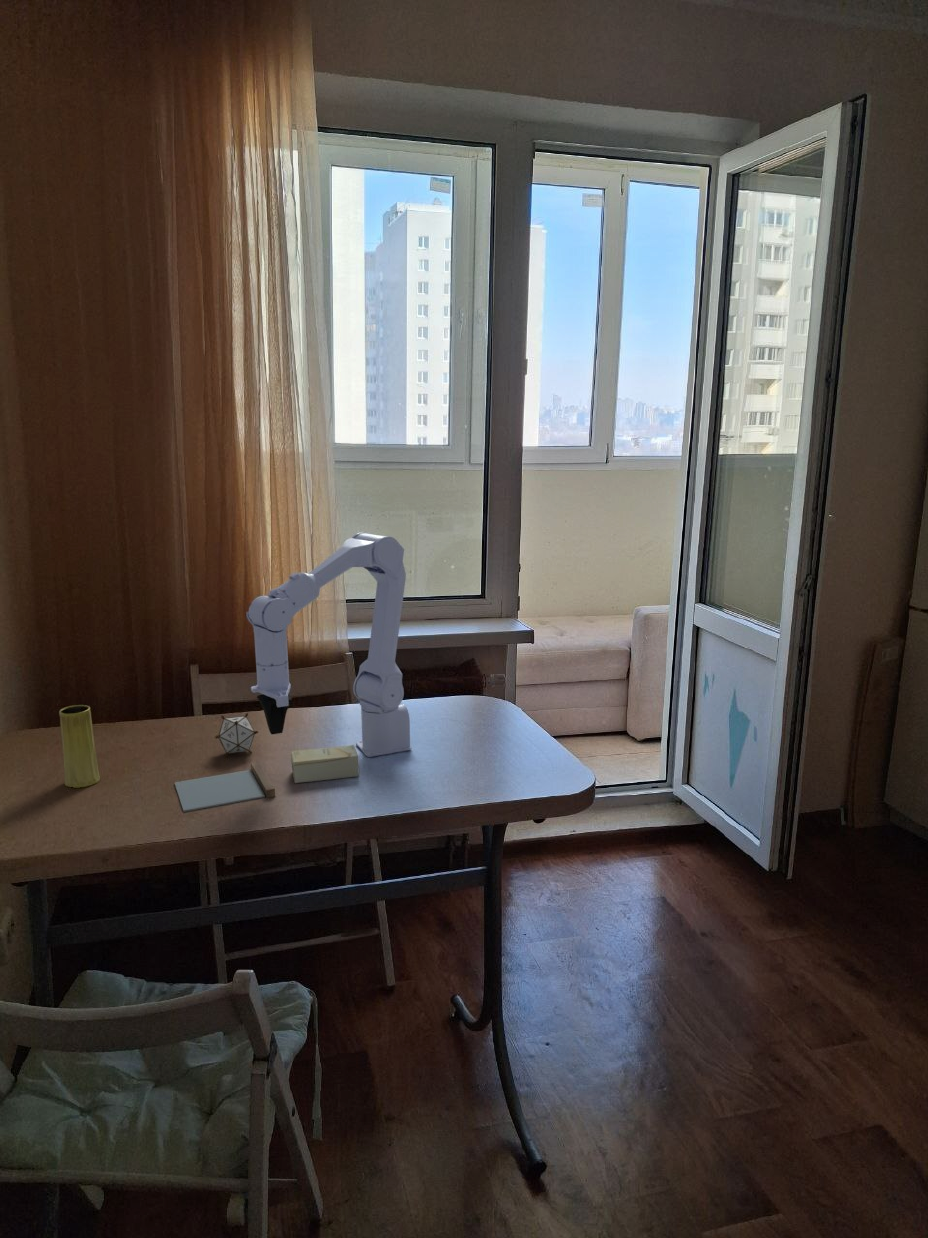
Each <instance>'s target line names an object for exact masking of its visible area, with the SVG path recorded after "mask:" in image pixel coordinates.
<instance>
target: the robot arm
mask: <svg viewBox="0 0 928 1238" xmlns="http://www.w3.org/2000/svg"><path fill="white" fill-rule="evenodd" d="M404 553H405V549H404V547H403V545H401V544H400V542H399V541H398V540H397V539H396V538H395V537H393V536H391V535H390V536H389V535H388V536H387V535H378V534H371V533H367V532H365V531H364V532H362V531H361V532H358V533H355V534H353V536H352V537H350V538H347V539H346V540H344V542H343V544H342V546H341V547H340V548H338V549H337V550H336V551H334V552H333V553H332V554H331V555H329V556H328V557H327V558H326V559H325V560H323V561H322V562H321V563H319V565H317V566H316V567H315V568H313V569H312V570H311V571H309V572H303V571H301V572H300V571H299V572H297V573H296V572H293V573H291V574H290V575H289V576H288V577H289V579H288V580H286V581H285V582H284V583H282V584H280V585H279V586H278V587H277V588H274V587H273V588H272V589H270V590H269V591H268V592H269V594H268V595H260V596H257V597H256V598H254V599H253V600H252V602H251V604H250V605H249V606H248V607H249V608H248V611H246V613H245V614H246V618H247V621H248V622H249V623H250V624H251V625H252V629H253V634H254V636H253V637H254V650H255V651H254V652H255V665H256V666H255V667H256V668H255V669H256V682H257V683H256V685H253V686H250V691H251V692H252V694H253V693H254V694H255V693H259V695H257V696H256V698H257V701H258V702H259V703H260V705H261V707H262V710H263V713H264V717H265V719H266V724H267V728H268V731H269V734H271V735H278V734H283V731H284V727H285V720H286V717H287V712H288V709H289V707H290V706H291V704H292V699H293V698H292V697H291V696H290V691H291V683H290V674H289V673H290V671H289V656H288V655H289V653H288V651H289V650H288V637H287V636H288V635H287V629H288V628H289V626H290V625H291V623H292V621H293V618H294V616H295V615H296V614H297V613H299V612H300V611H301V610H302V609H304V608H306V607H307V606H308V605H310V604H311V603H312V602H314V601H315V600H317V599H318V598H319V596H320V593H321V592H320V591H321V590H320V589H321V588H322V587H324V586H325V585H327V584H329V583H330V582H332V581H333V580H335V579H336V578H338V577H340V575H343V574H344V573H345V572H347V571H350V569H352V568H364V569H365V570H367V571H368V572H369V574H370V575H371V576H372V577H373V578H374V580H375V581H376V590H375V591H376V592H375V598H374V599H375V600H374V608H373V613H372V615H373V616H372V623H371V629H370V639H369V645H368V646H369V647H368V653H367V654H368V655H367V659H365V660H364V661H363V662H362V663H361V664H360V665H359V668H358V669H359V670H358V673H357V676H356V677H355V680H354V682H353V689H352V690H353V694H354V696H355V697H356V698H357V699H358V701H359V705H360V708H361V711H360V712H361V713H360V714H361V718H360V719H361V741H356V742H355V745H356V746H357V747H358V748H359V750H360V751H362V753H364V755H365V756H366V757H368V758H371V757H377V756H381V755H382V756H383V755H388V754H395V753H402V752H405V751H411V750H412V746H411V729H410V727H411V726H410V725H411V723H410V722H411V721H410V713H409V710H408V708H407V706H406V705H405V704H404V703H402V701H403V699H404V695H405V691H404V690H405V689H404V686H403V673H402V671H401V670H400V668H399V666H398V665H397V663H396V656H397V649H398V642H399V641H398V640H399V635H400V627H401V625H400V623H401V619H402V618H401V617H402V610H403V602H404V594H405V585H406V579H407V578H406V577H407V576H406V575H407V574H406V570H405V569H406V568H405V566H404Z"/></svg>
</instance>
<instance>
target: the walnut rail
mask: <svg viewBox="0 0 928 1238" xmlns="http://www.w3.org/2000/svg"><path fill="white" fill-rule="evenodd" d="M250 768H251V769H250V770H251V772H252V773H253V775H254V777H255V779H256V781H257V782H258V784H259V786H260V788H261V790H262V791H263V793H264V795H265V798H266V799H270V798H273V797H276V789H275V787H274V785H273V783H272V781H271V779H270V778H269V776H268V774H267V773H266V771H265V770H264V768H263V767H262V765H261V763H260V762H259V761H253V762H250Z"/></svg>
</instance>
